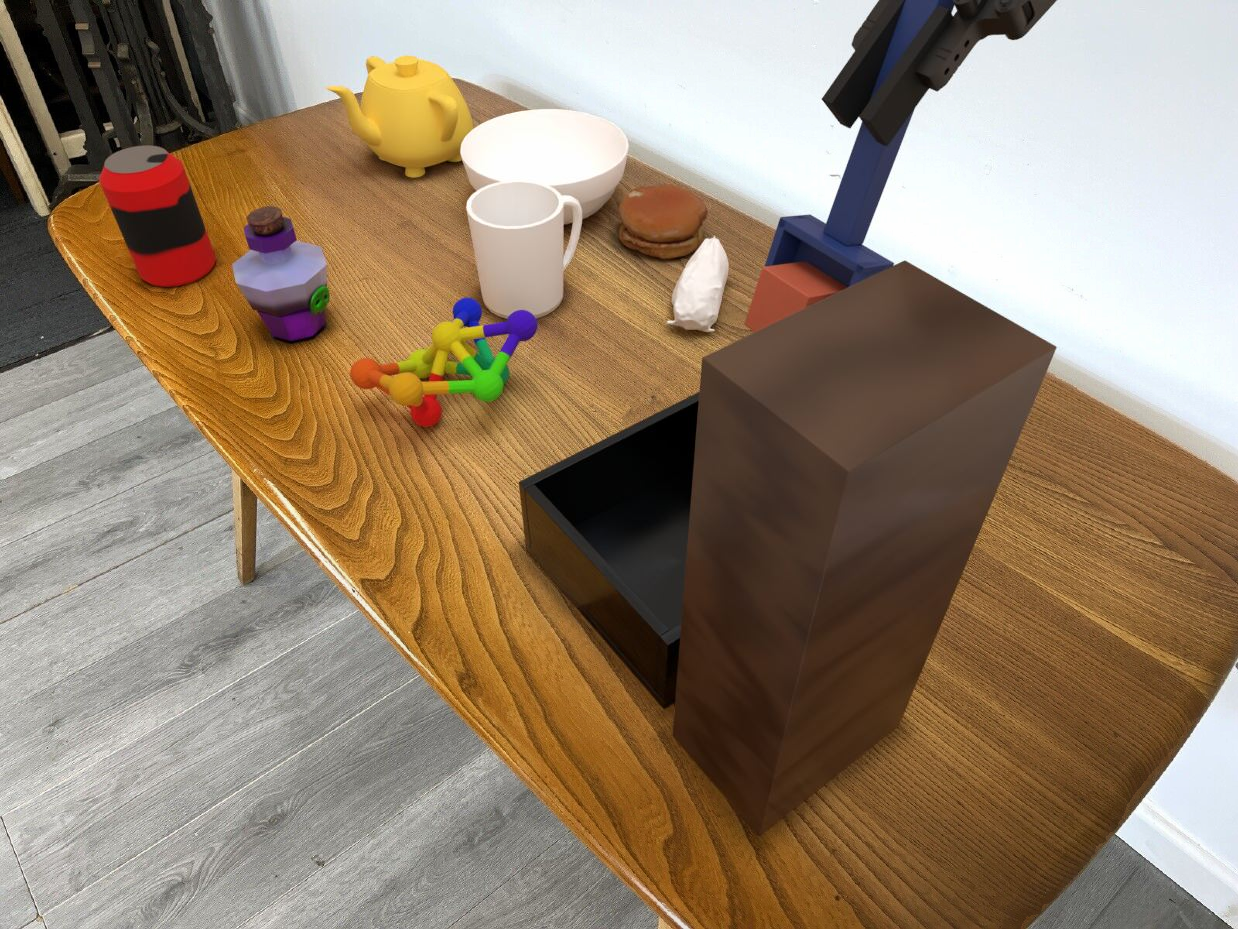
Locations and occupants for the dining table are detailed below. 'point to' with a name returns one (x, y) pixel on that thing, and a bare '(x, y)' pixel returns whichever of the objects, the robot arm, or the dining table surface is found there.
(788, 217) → the blue long-handled scoop
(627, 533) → the black square open box
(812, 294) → the block
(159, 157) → the soda can
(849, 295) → the stand
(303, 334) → the potion bottle
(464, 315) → the decorative model
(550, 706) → the dining table surface
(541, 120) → the bowl
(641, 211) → the burger
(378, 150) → the teapot
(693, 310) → the white cloth bag
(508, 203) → the mug
